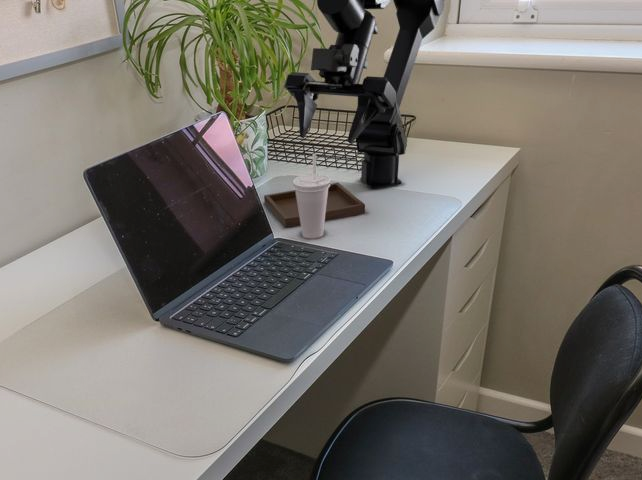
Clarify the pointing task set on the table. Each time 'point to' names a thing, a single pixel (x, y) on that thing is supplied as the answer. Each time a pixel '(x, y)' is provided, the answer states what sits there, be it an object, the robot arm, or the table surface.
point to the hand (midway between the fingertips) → (325, 139)
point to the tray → (336, 207)
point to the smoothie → (312, 201)
